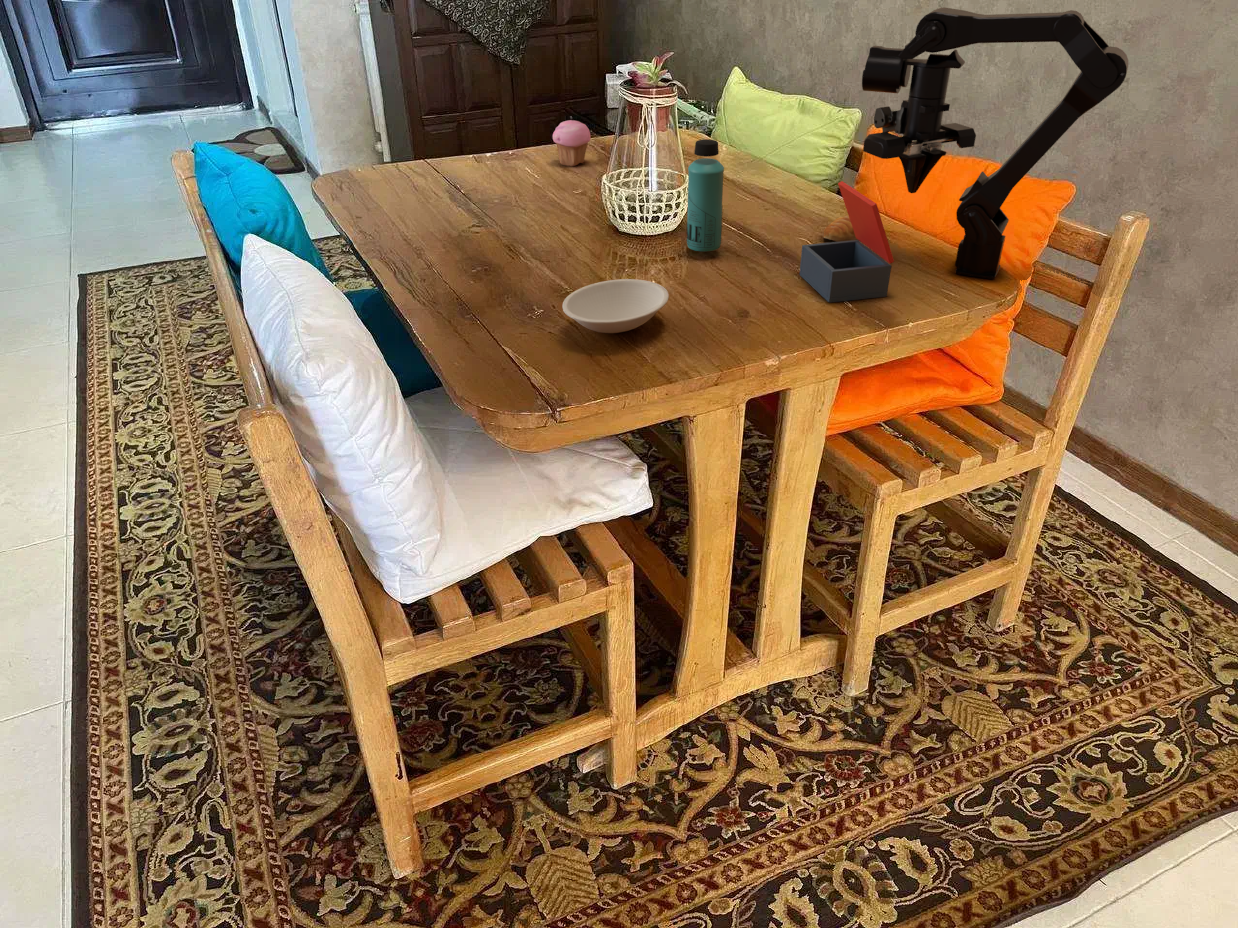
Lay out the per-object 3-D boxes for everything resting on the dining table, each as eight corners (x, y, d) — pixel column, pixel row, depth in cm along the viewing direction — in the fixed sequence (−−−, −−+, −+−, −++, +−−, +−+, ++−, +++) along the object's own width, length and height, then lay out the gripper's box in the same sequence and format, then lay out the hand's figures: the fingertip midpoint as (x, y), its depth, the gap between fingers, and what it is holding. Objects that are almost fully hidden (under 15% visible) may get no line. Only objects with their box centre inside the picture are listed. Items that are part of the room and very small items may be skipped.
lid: (871, 206, 140) (876, 203, 140) (837, 183, 150) (842, 180, 150) (889, 264, 146) (894, 261, 146) (855, 238, 156) (860, 236, 156)
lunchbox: (828, 303, 147) (832, 271, 144) (799, 274, 158) (802, 245, 155) (887, 296, 149) (891, 265, 146) (853, 269, 159) (857, 239, 157)
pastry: (841, 247, 169) (843, 227, 167) (813, 238, 173) (815, 218, 171) (874, 236, 173) (876, 216, 171) (845, 227, 178) (848, 208, 176)
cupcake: (570, 157, 224) (568, 114, 219) (598, 162, 220) (597, 119, 215) (547, 166, 218) (544, 122, 213) (576, 171, 214) (574, 126, 209)
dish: (620, 300, 149) (619, 271, 147) (689, 324, 141) (690, 293, 139) (542, 336, 138) (540, 305, 136) (612, 363, 130) (612, 331, 128)
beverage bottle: (726, 250, 168) (731, 137, 157) (713, 262, 163) (718, 147, 152) (693, 245, 171) (696, 134, 160) (679, 257, 166) (682, 143, 155)
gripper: (941, 82, 157) (925, 174, 165) (849, 92, 151) (838, 187, 160) (986, 93, 148) (968, 190, 157) (891, 105, 142) (877, 205, 151)
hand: (911, 192), depth 156 cm, fingers closed
